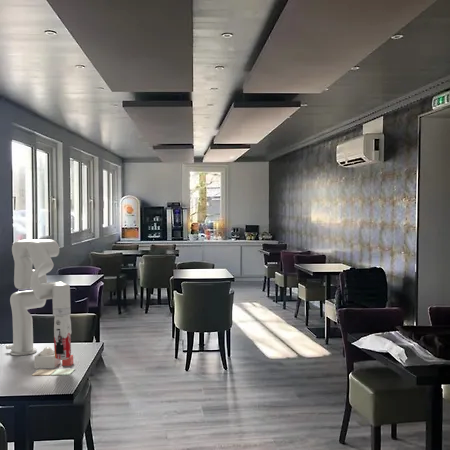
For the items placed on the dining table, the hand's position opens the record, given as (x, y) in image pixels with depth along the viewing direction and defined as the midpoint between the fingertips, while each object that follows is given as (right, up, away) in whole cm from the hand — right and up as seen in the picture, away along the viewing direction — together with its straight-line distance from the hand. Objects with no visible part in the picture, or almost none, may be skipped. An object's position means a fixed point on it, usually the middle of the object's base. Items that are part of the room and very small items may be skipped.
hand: (62, 351), depth 237 cm
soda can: (0, -3, 0) cm, 3 cm away
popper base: (-11, -10, +12) cm, 19 cm away
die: (-2, -9, +13) cm, 16 cm away
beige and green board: (-4, -10, 0) cm, 10 cm away
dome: (-11, -6, +12) cm, 18 cm away
